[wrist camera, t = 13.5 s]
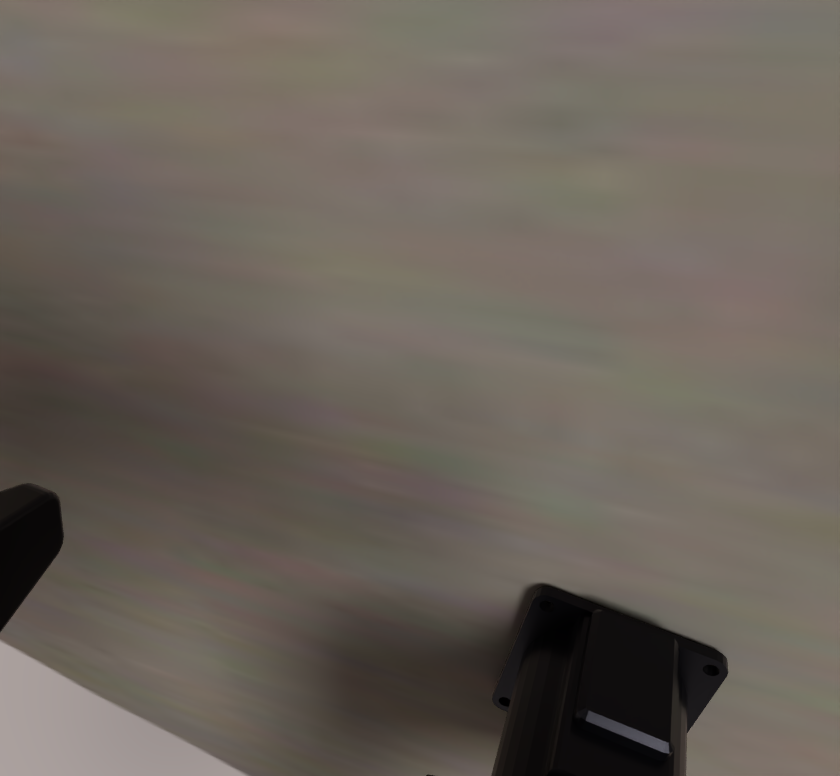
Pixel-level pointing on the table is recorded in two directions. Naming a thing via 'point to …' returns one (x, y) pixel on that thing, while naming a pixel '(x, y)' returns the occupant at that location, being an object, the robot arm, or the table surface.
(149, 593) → the table surface
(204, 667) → the table surface
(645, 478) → the table surface
